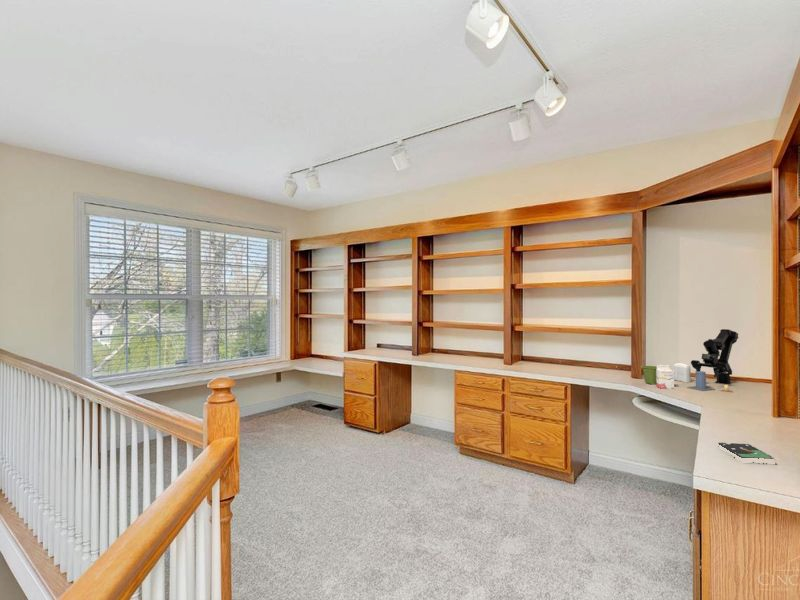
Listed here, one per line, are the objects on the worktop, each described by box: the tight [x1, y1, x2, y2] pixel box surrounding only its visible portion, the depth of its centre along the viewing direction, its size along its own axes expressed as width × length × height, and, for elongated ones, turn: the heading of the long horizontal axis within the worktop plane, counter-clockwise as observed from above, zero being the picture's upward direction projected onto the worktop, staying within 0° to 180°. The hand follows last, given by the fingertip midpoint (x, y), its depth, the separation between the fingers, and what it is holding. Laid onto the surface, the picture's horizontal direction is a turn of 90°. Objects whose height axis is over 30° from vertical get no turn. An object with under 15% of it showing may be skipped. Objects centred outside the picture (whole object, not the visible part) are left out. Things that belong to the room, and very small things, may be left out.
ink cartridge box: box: [656, 364, 675, 390], centre depth 256 cm, size 9×5×15 cm, turn 77°
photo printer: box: [673, 362, 692, 383], centre depth 275 cm, size 10×4×12 cm, turn 17°
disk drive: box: [717, 442, 775, 460], centre depth 145 cm, size 10×3×15 cm
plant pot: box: [640, 365, 657, 385], centre depth 271 cm, size 12×12×11 cm
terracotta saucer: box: [718, 384, 735, 394], centre depth 238 cm, size 7×7×5 cm
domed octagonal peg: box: [695, 370, 707, 389], centre depth 247 cm, size 5×5×10 cm
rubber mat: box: [686, 385, 716, 392], centre depth 247 cm, size 10×10×2 cm
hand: (705, 376), depth 251 cm, fingers open, 9 cm apart
